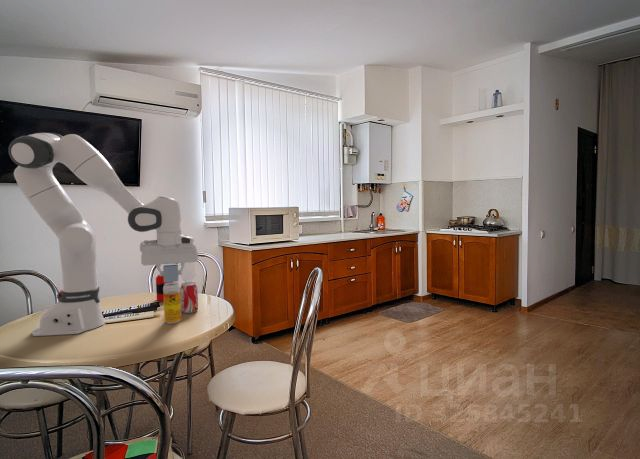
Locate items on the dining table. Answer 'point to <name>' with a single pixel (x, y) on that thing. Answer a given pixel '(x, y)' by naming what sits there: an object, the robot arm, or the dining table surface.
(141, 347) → the dining table surface
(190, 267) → the champagne flute
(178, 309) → the beer can
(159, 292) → the soda can
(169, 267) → the slate block
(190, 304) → the soda can
